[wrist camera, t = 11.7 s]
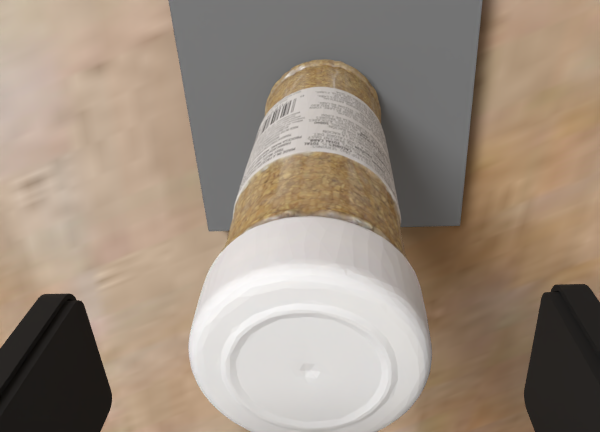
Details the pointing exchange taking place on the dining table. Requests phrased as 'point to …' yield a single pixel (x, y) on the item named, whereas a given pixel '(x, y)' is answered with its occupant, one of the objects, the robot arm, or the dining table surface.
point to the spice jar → (314, 272)
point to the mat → (352, 51)
